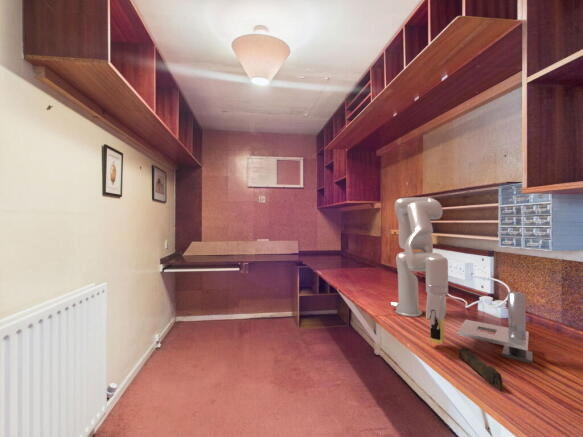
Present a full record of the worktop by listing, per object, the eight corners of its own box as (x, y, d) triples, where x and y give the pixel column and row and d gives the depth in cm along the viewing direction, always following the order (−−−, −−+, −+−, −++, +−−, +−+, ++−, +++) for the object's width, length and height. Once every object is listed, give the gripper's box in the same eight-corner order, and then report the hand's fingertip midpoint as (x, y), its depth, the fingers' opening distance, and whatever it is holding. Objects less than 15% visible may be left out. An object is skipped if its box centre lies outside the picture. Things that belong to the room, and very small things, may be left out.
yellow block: (430, 341, 107) (429, 317, 107) (433, 337, 110) (432, 314, 110) (441, 344, 104) (441, 320, 104) (444, 340, 107) (444, 317, 107)
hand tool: (457, 358, 98) (457, 345, 98) (469, 359, 98) (469, 346, 98) (490, 392, 79) (490, 376, 79) (505, 392, 79) (505, 376, 79)
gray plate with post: (457, 349, 105) (456, 290, 105) (466, 335, 117) (465, 282, 117) (532, 368, 91) (530, 300, 91) (532, 350, 103) (531, 290, 103)
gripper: (432, 282, 115) (432, 327, 116) (419, 292, 103) (419, 341, 103) (452, 285, 110) (453, 331, 111) (442, 295, 98) (442, 347, 98)
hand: (437, 336), depth 107 cm, fingers closed on yellow block, 4 cm apart
